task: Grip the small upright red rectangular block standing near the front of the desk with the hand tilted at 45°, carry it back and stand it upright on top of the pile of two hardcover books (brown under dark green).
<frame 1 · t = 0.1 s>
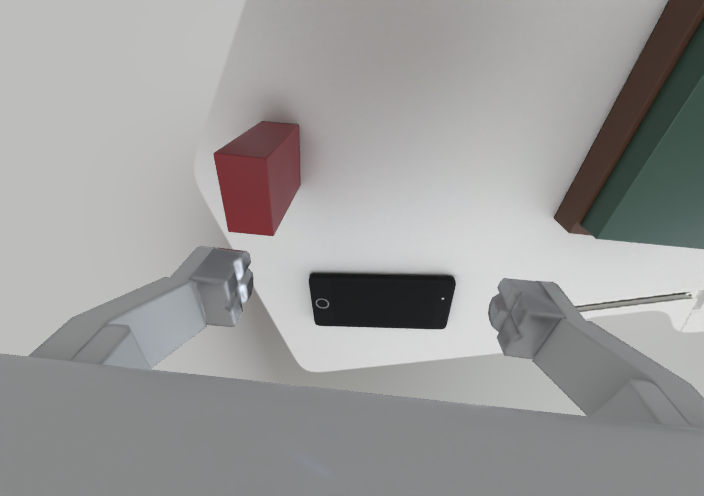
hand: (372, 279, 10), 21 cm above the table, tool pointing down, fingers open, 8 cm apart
book pile: (675, 135, 26), on the table
upright red rectangular block: (282, 155, 29), on the table
cell phone: (380, 298, 39), on the table
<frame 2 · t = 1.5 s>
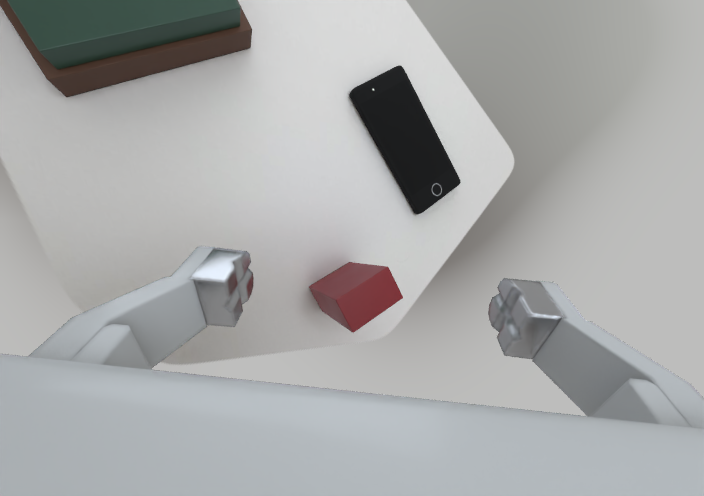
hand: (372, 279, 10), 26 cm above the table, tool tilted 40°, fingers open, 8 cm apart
book pile: (131, 4, 29), on the table
upright red rectangular block: (336, 286, 36), on the table
cell phone: (405, 143, 40), on the table
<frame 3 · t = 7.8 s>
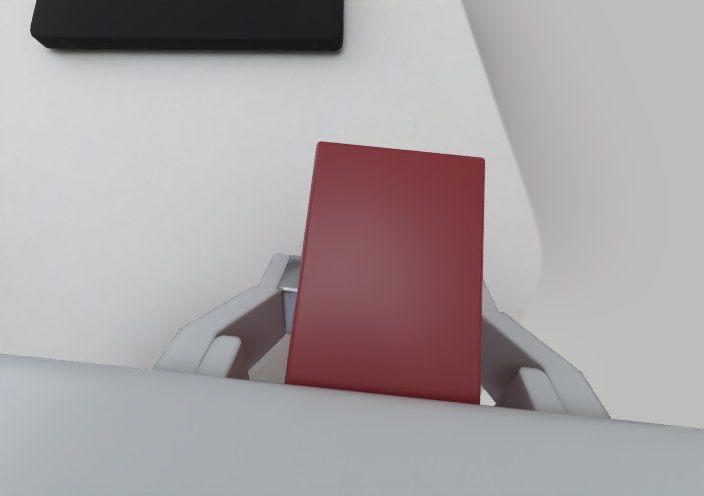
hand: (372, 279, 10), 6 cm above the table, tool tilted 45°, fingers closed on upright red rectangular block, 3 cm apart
upright red rectangular block: (363, 299, 15), on the table, touching gripper
when the fingers open (11 cm above the table, at t = 17.3 s): upright red rectangular block stays where it is, resting on book pile.
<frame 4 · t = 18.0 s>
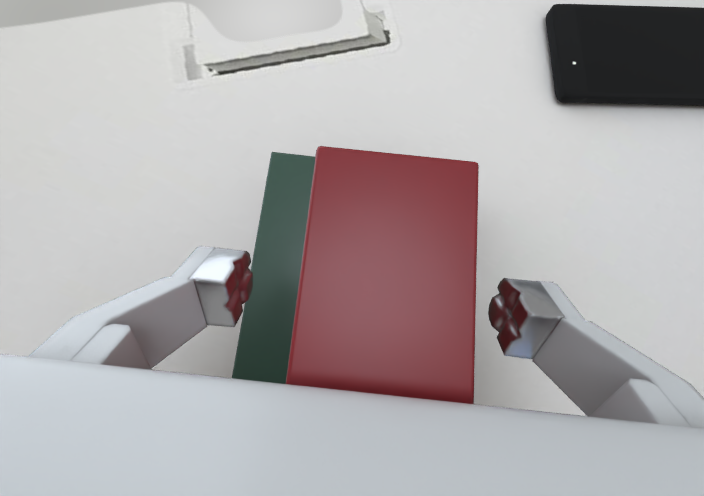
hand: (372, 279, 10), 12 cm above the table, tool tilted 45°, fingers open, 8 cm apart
book pile: (356, 302, 21), on the table
upright red rectangular block: (361, 299, 16), point 5 cm above the table, touching book pile
cell phone: (651, 61, 25), on the table
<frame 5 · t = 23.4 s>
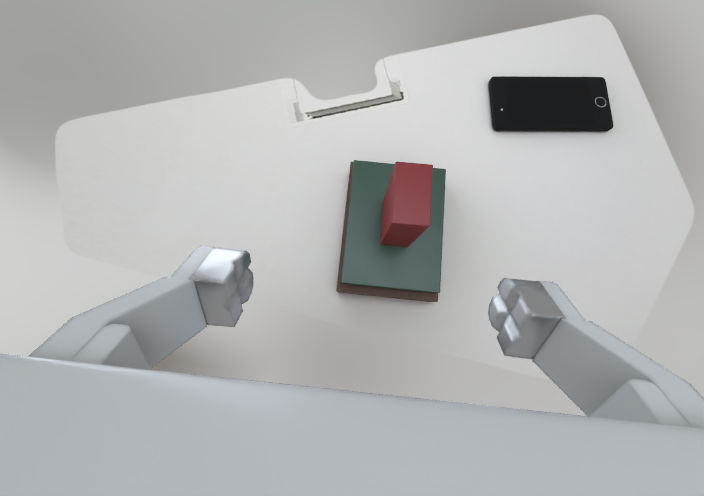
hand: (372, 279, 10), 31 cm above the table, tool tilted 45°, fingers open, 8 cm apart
book pile: (389, 233, 42), on the table
upright red rectangular block: (395, 222, 37), point 5 cm above the table, touching book pile
cell phone: (546, 106, 46), on the table
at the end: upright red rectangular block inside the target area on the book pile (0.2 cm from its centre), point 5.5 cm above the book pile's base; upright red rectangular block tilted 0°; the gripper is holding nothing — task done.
